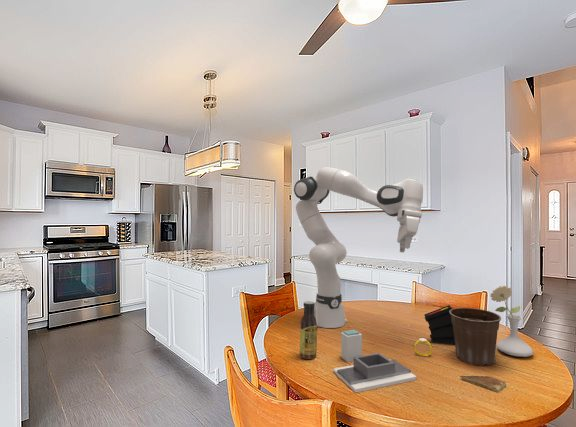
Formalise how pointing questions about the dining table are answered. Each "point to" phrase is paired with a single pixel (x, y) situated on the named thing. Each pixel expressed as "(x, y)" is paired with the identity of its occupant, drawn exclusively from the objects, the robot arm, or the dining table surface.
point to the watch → (423, 342)
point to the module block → (351, 345)
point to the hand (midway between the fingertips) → (404, 250)
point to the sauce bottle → (308, 332)
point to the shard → (486, 382)
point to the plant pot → (475, 335)
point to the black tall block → (441, 326)
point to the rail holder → (373, 373)
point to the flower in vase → (511, 326)
